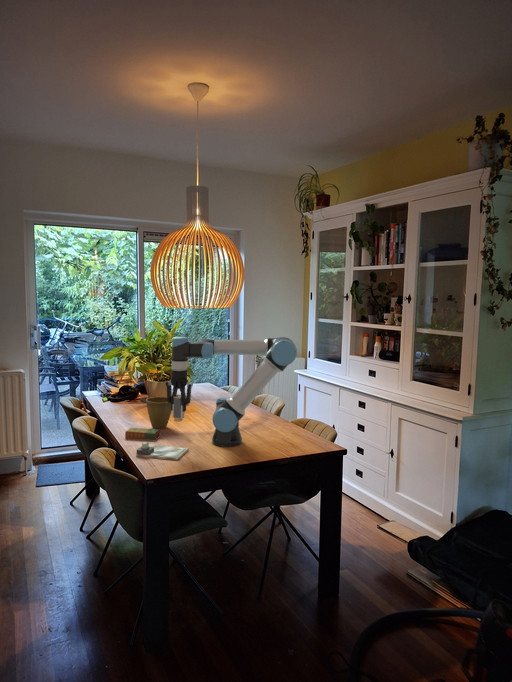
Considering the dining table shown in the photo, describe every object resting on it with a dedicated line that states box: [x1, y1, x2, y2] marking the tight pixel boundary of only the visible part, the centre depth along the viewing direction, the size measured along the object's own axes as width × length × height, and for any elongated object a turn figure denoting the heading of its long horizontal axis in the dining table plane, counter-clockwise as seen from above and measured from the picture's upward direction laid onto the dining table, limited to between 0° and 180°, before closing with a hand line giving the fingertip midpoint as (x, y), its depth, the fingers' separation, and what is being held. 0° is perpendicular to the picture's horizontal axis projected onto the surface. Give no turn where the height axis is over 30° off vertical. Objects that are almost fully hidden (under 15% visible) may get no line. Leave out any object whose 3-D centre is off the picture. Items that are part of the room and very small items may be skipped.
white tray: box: [136, 443, 189, 461], centre depth 235 cm, size 20×15×3 cm
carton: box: [124, 427, 161, 442], centre depth 259 cm, size 8×16×4 cm, turn 83°
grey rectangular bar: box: [173, 394, 184, 422], centre depth 239 cm, size 4×4×12 cm
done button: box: [141, 441, 150, 450], centre depth 232 cm, size 3×3×3 cm
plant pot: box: [145, 396, 173, 430], centre depth 277 cm, size 15×15×16 cm
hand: (178, 417), depth 240 cm, fingers closed on grey rectangular bar, 3 cm apart
